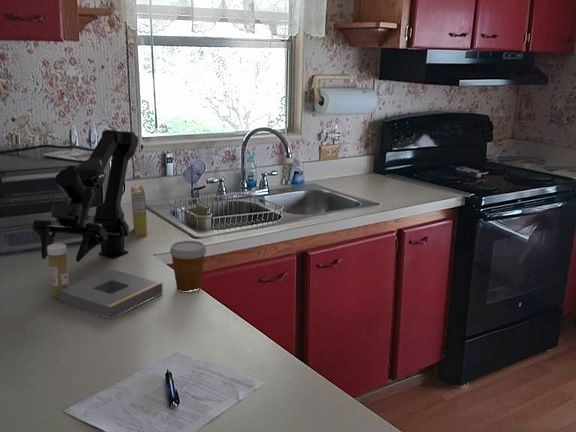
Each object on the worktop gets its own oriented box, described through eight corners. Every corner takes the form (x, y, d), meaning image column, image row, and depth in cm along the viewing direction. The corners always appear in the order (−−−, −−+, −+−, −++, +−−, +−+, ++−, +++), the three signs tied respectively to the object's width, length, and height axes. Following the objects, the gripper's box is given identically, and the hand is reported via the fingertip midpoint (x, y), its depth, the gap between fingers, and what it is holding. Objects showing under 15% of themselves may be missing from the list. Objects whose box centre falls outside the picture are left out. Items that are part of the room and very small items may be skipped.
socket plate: (112, 279, 167) (111, 268, 166) (162, 294, 158) (162, 282, 157) (59, 301, 152) (58, 289, 151) (111, 319, 143) (110, 306, 142)
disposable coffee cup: (172, 296, 157) (171, 252, 154) (169, 282, 166) (168, 241, 163) (208, 293, 160) (208, 250, 156) (204, 280, 168) (203, 239, 165)
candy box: (132, 228, 212) (130, 186, 208) (145, 228, 213) (143, 185, 209) (134, 236, 204) (132, 192, 200) (147, 235, 205) (145, 191, 201)
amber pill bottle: (72, 296, 155) (68, 246, 152) (53, 300, 153) (49, 249, 149) (67, 290, 159) (63, 241, 155) (49, 293, 156) (45, 244, 153)
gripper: (32, 188, 156) (11, 242, 149) (100, 193, 154) (83, 248, 146) (50, 210, 166) (31, 262, 158) (115, 215, 163) (99, 267, 156)
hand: (60, 259), depth 154 cm, fingers open, 9 cm apart
